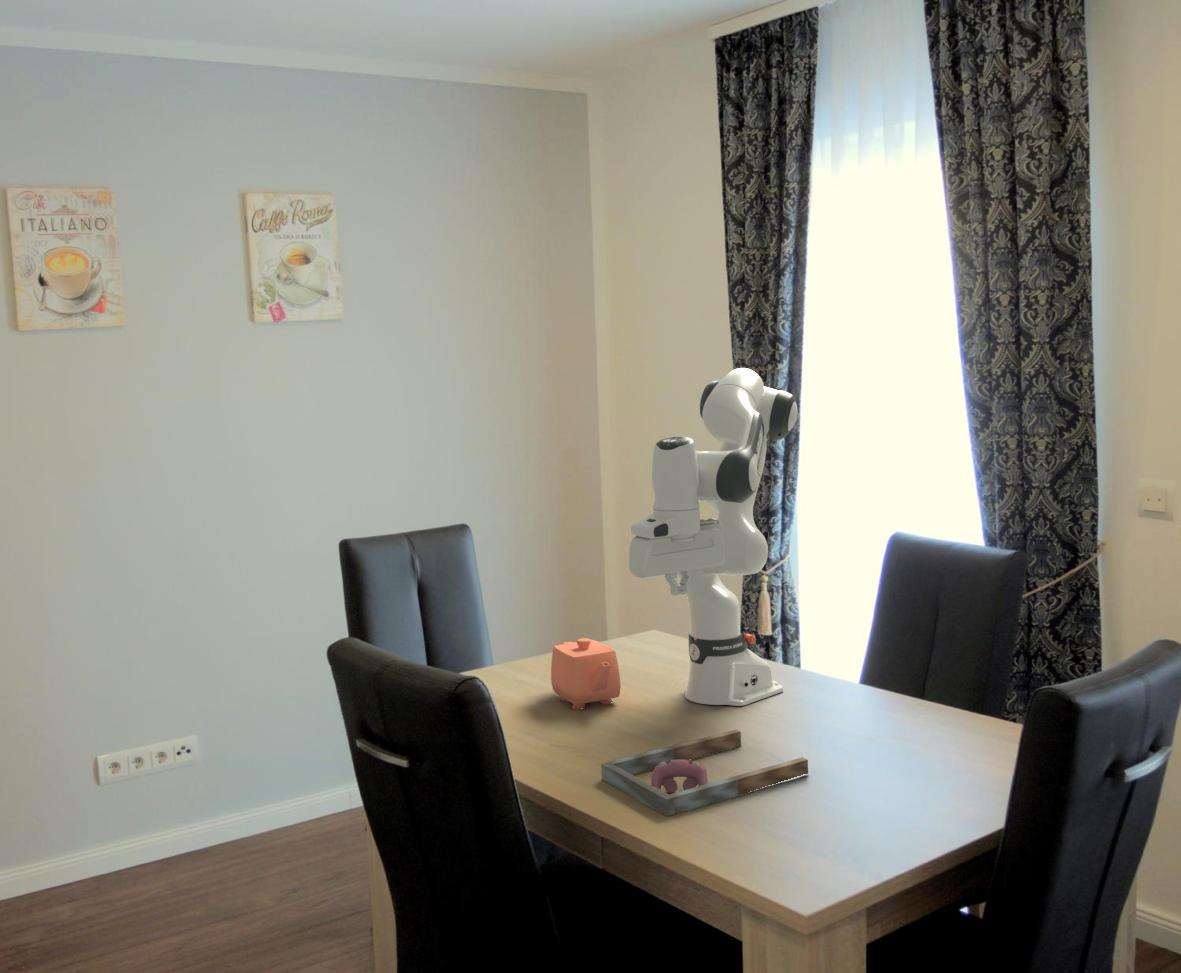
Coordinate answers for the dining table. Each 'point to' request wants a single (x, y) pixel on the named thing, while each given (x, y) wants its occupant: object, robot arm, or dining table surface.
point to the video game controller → (679, 774)
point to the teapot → (585, 672)
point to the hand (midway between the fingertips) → (679, 594)
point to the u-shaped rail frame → (670, 804)
